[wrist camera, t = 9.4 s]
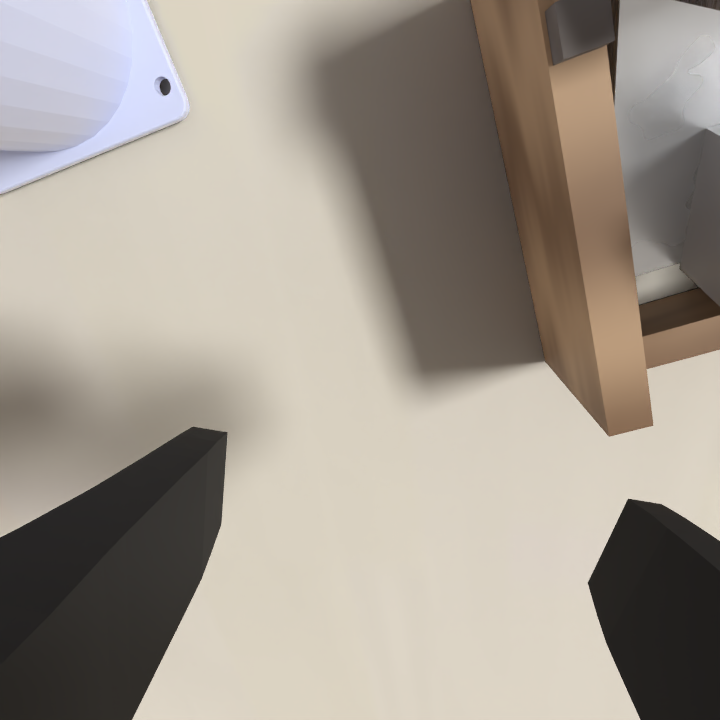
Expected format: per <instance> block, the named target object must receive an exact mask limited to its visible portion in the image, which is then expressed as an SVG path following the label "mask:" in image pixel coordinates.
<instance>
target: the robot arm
mask: <svg viewBox="0 0 720 720" xmlns="http://www.w3.org/2000/svg"><path fill="white" fill-rule="evenodd" d="M163 79H168V81H169V82H170V85H171V90H170V93H169V94H168V95H166V96H163V94H162V93H161V91H160V87H159V86H160V82H161V81H162V80H163ZM189 107H190V105H189V101H188V98H187V95H186V93H185V90H184V88H183V86H182V83H181V81H180V79H179V76H178V74H177V71H176V69H175V67H174V64H173V62H172V59H171V57H170V55H169V52H168V50H167V47H166V45H165V43H164V40H163V38H162V35H161V33H160V31H159V28H158V26H157V23H156V21H155V19H154V16H153V14H152V12H151V9H150V7H149V4H148V2H147V0H0V194H4V193H7V192H9V191H11V190H14V189H16V188H19V187H21V186H24V185H26V184H29V183H31V182H33V181H36V180H38V179H41V178H43V177H46V176H48V175H51V174H53V173H55V172H58V171H60V170H63V169H65V168H68V167H70V166H73V165H75V164H77V163H80V162H82V161H85V160H87V159H90V158H92V157H95V156H97V155H99V154H102V153H104V152H107V151H109V150H112V149H114V148H117V147H119V146H121V145H124V144H126V143H129V142H131V141H134V140H136V139H139V138H141V137H143V136H146V135H148V134H151V133H153V132H156V131H158V130H161V129H163V128H165V127H168V126H170V125H173V124H175V123H178V122H180V121H182V120H183V119H185V118H186V117H187V115H188V113H189ZM226 445H227V432H221V431H215V430H209V429H203V428H197V427H192V428H190V429H188V430H186V431H185V432H183V433H181V434H180V435H178V436H177V437H175V438H173V439H172V440H170V441H168V442H167V443H165V444H164V445H162V446H161V447H159V448H157V449H156V450H154V451H153V452H151V453H149V454H148V455H146V456H145V457H143V458H141V459H140V460H138V461H136V462H135V463H133V464H131V465H130V466H128V467H127V468H125V469H123V470H122V471H120V472H118V473H117V474H115V475H113V476H112V477H110V478H108V479H107V480H105V481H103V482H102V483H100V484H98V485H97V486H95V487H93V488H91V489H90V490H88V491H86V492H84V493H82V494H81V495H79V496H77V497H75V498H73V499H71V500H70V501H68V502H66V503H64V504H62V505H61V506H59V507H57V508H55V509H53V510H51V511H50V512H48V513H46V514H44V515H42V516H40V517H39V518H37V519H35V520H33V521H31V522H29V523H28V524H26V525H24V526H22V527H20V528H18V529H16V530H14V531H12V532H10V533H8V534H7V535H5V536H3V537H1V538H0V720H132V719H133V717H134V714H135V712H136V710H137V708H138V706H139V704H140V702H141V700H142V698H143V696H144V694H145V692H146V690H147V688H148V686H149V684H150V682H151V680H152V678H153V676H154V674H155V672H156V670H157V668H158V666H159V664H160V662H161V660H162V658H163V656H164V654H165V652H166V650H167V648H168V646H169V644H170V642H171V640H172V638H173V636H174V634H175V632H176V630H177V628H178V626H179V624H180V622H181V620H182V618H183V616H184V614H185V612H186V610H187V608H188V606H189V603H190V601H191V599H192V597H193V595H194V593H195V591H196V589H197V587H198V585H199V583H200V581H201V579H202V576H203V573H204V571H205V568H206V565H207V563H208V560H209V557H210V555H211V552H212V549H213V546H214V543H215V540H216V538H217V535H218V532H219V529H220V526H221V520H222V505H223V490H224V475H225V460H226ZM588 585H589V589H590V592H591V595H592V599H593V602H594V606H595V609H596V613H597V616H598V619H599V622H600V625H601V628H602V631H603V634H604V637H605V640H606V643H607V645H608V648H609V650H610V652H611V655H612V657H613V659H614V662H615V664H616V666H617V668H618V671H619V673H620V675H621V677H622V679H623V682H624V684H625V686H626V688H627V691H628V693H629V695H630V697H631V700H632V702H633V704H634V706H635V708H636V711H637V713H638V715H639V717H640V719H641V720H720V541H719V540H717V539H716V538H714V537H713V536H711V535H710V534H708V533H707V532H705V531H704V530H702V529H701V528H699V527H698V526H696V525H695V524H693V523H692V522H690V521H689V520H687V519H686V518H684V517H682V516H681V515H679V514H677V513H676V512H674V511H672V510H671V509H669V508H667V507H665V506H664V505H662V504H657V503H651V502H645V501H639V500H632V499H628V500H627V502H626V504H625V507H624V509H623V511H622V513H621V515H620V517H619V519H618V521H617V523H616V525H615V527H614V529H613V532H612V534H611V536H610V538H609V540H608V542H607V544H606V546H605V548H604V550H603V552H602V555H601V557H600V559H599V561H598V563H597V565H596V567H595V569H594V571H593V573H592V575H591V578H590V580H589V582H588Z"/></svg>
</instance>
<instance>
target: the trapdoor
mask: <svg viewBox="0 0 720 720" xmlns="http://www.w3.org/2000/svg"><path fill="white" fill-rule="evenodd" d="M611 8H612V17H613V25H614V34H615V41H613V42H611V43H609V44H607V52H608V60H609V68H610V76H611V84H612V92H613V101H614V109H615V117H616V125H617V133H618V141H619V149H620V158H621V166H622V174H623V182H624V190H625V198H626V207H627V215H628V223H629V231H630V239H631V247H632V256H633V264H634V272H635V276H638V275H641V274H644V273H648V272H651V271H654V270H658V269H661V268H664V267H668V266H671V265H674V264H678V263H681V258H682V253H683V247H684V242H685V237H686V231H687V226H688V220H689V215H690V210H691V204H692V199H693V194H694V188H695V183H696V177H697V172H698V167H699V161H700V156H701V150H702V145H703V140H704V134H705V129H706V128H708V127H711V126H714V125H717V124H720V0H611Z"/></svg>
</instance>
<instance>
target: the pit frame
mask: <svg viewBox="0 0 720 720" xmlns="http://www.w3.org/2000/svg"><path fill="white" fill-rule="evenodd" d="M470 1H471V6H472V11H473V16H474V20H475V25H476V30H477V35H478V40H479V45H480V49H481V54H482V59H483V64H484V69H485V73H486V78H487V83H488V88H489V93H490V98H491V102H492V107H493V112H494V117H495V122H496V126H497V131H498V136H499V141H500V146H501V150H502V155H503V160H504V165H505V170H506V175H507V179H508V184H509V189H510V194H511V199H512V203H513V208H514V213H515V218H516V223H517V228H518V232H519V237H520V242H521V247H522V252H523V256H524V261H525V266H526V271H527V276H528V280H529V285H530V290H531V295H532V300H533V305H534V309H535V314H536V319H537V324H538V329H539V333H540V338H541V343H542V348H543V353H544V358H545V362H546V363H547V364H548V365H549V367H550V368H551V369H552V370H553V371H554V372H555V374H556V375H557V376H558V377H559V378H560V380H561V381H562V382H563V383H564V384H565V385H566V387H567V388H568V389H569V390H570V391H571V392H572V394H573V395H574V396H575V397H576V398H577V400H578V401H579V402H580V403H581V404H582V405H583V407H584V408H585V409H586V410H587V411H588V412H589V414H590V415H591V416H592V417H593V418H594V420H595V421H596V422H597V423H598V424H599V425H600V427H601V428H602V429H603V430H604V431H605V432H606V434H607V435H608V436H613V435H617V434H621V433H625V432H629V431H633V430H637V429H641V428H645V427H649V426H653V419H652V411H651V402H650V394H649V386H648V378H647V370H646V369H649V368H653V367H656V366H660V365H664V364H668V363H671V362H675V361H679V360H682V359H686V358H690V357H694V356H697V355H701V354H705V353H708V352H712V351H716V350H720V306H719V305H718V304H717V303H716V302H714V301H713V300H712V299H711V298H710V297H709V296H708V295H707V294H706V293H705V292H704V291H703V290H702V289H701V288H697V289H694V290H690V291H687V292H683V293H680V294H677V295H673V296H670V297H666V298H663V299H659V300H656V301H652V302H649V303H646V304H642V305H639V304H638V296H637V288H636V280H635V272H634V264H633V256H632V247H631V239H630V231H629V223H628V215H627V207H626V198H625V190H624V182H623V174H622V166H621V158H620V149H619V141H618V133H617V125H616V117H615V109H614V101H613V92H612V84H611V76H610V68H609V60H608V52H607V44H609V43H611V42H613V41H615V34H614V25H613V17H612V8H611V0H470Z"/></svg>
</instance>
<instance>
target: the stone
mask: <svg viewBox="0 0 720 720" xmlns="http://www.w3.org/2000/svg"><path fill="white" fill-rule="evenodd" d="M679 269H680V270H682V271H683V272H684V273H685V274H686V275H687V276H688V277H689V278H690V279H691V280H692V281H693V282H694V283H695V284H696V285H697V286H699V287H700V288H701V289H702V290H703V291H704V292H705V293H706V294H707V295H708V296H709V297H710V298H711V299H712V300H713V301H714V302H716V303H717V304H718V305H719V306H720V124H717V125H714V126H711V127H708V128H706V129H705V134H704V140H703V145H702V150H701V156H700V161H699V167H698V172H697V177H696V183H695V188H694V194H693V199H692V204H691V210H690V215H689V220H688V226H687V231H686V237H685V242H684V247H683V253H682V258H681V263H680V268H679Z"/></svg>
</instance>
